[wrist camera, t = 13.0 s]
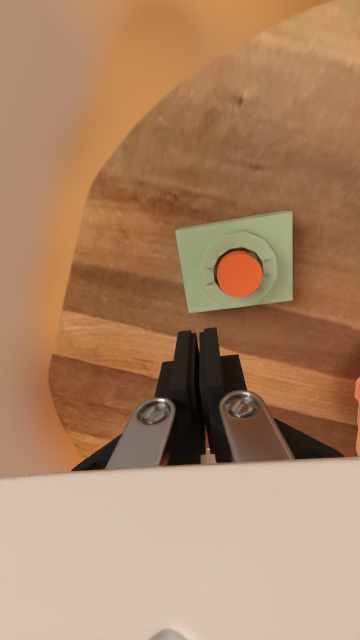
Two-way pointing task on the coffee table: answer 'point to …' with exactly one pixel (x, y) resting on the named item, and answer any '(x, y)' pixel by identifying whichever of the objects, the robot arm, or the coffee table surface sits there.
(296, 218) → the coffee table surface
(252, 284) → the button
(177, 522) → the robot arm
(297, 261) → the coffee table surface
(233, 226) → the button box
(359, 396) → the potted cactus
